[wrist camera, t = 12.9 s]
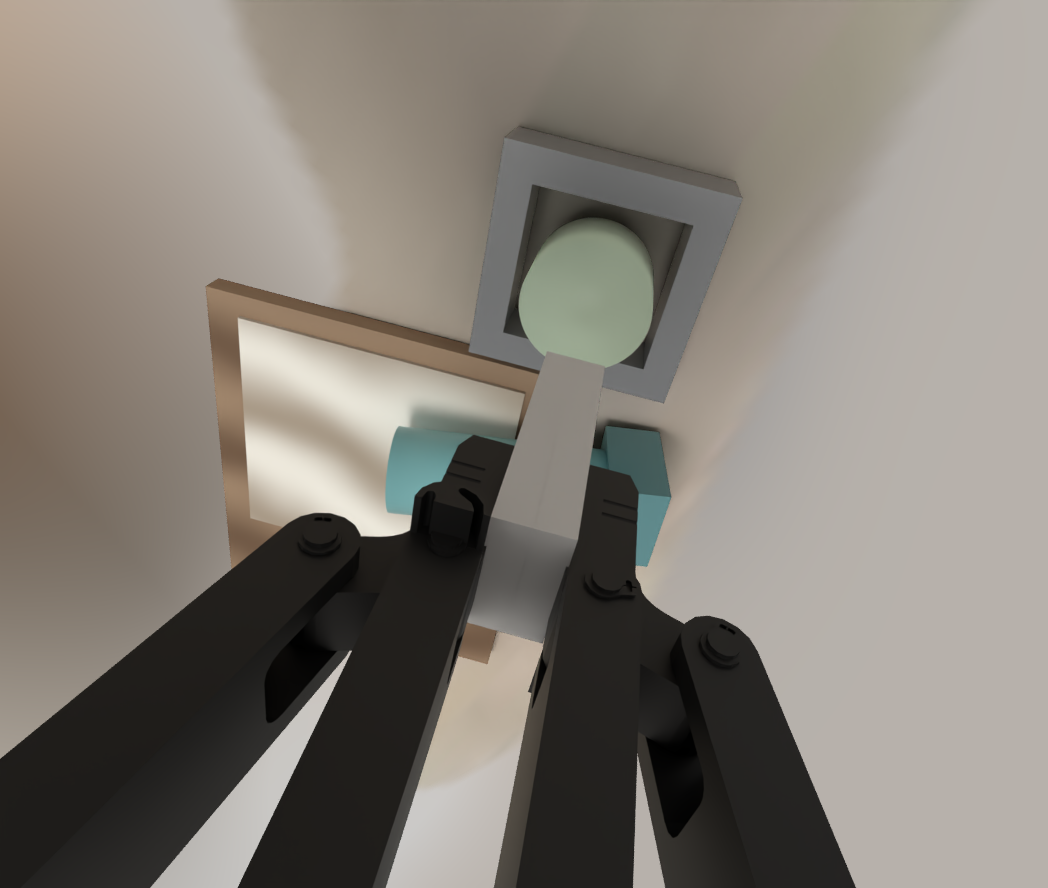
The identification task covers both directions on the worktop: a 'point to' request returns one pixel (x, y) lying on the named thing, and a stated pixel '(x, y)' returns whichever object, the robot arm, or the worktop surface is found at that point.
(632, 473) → the teal square-headed peg
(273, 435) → the clipboard
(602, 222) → the button
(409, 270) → the worktop surface
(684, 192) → the button housing
